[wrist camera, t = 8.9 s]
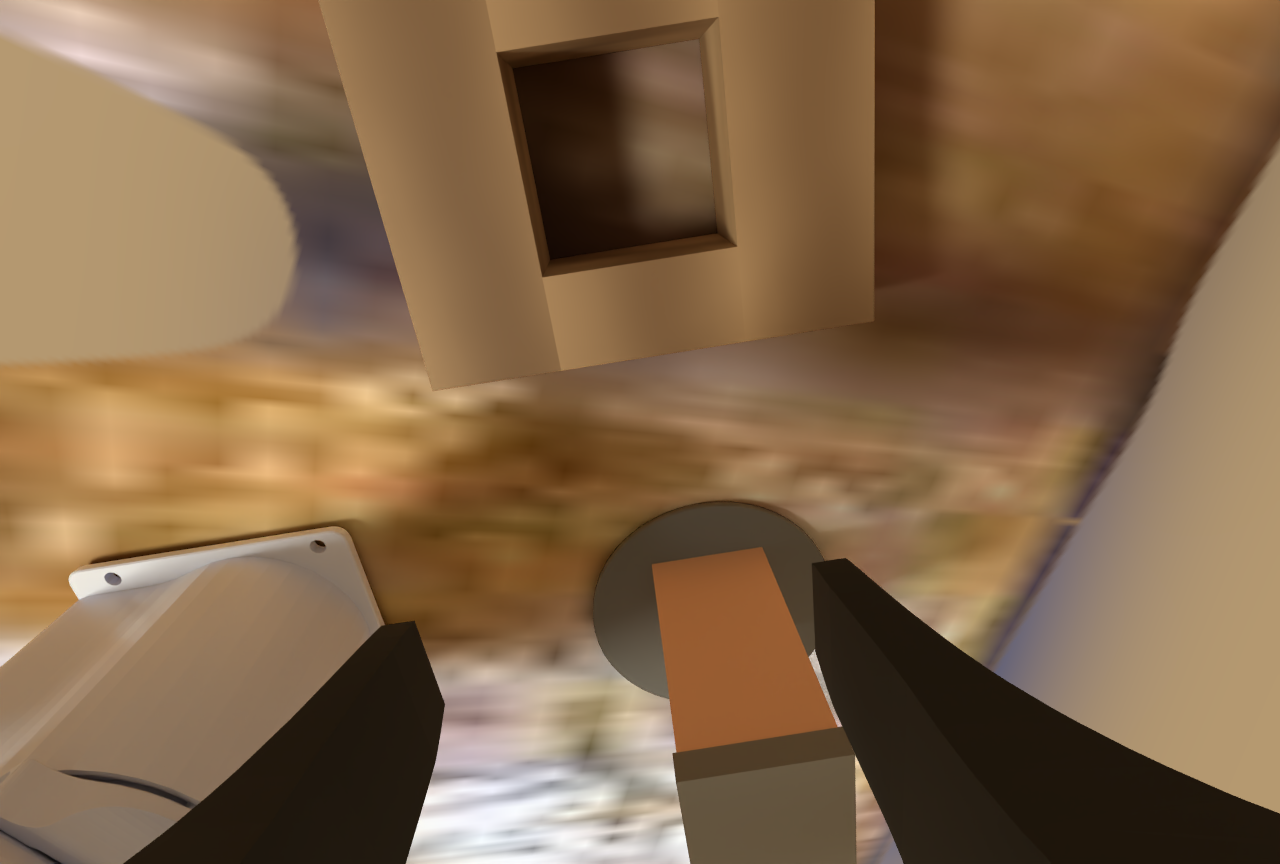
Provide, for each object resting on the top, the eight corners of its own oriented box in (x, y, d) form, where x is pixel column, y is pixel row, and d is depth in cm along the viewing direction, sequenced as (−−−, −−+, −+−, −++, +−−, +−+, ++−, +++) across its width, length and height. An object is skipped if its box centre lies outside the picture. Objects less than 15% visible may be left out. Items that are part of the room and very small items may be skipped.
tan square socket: (454, 358, 20) (432, 391, 17) (351, -23, 16) (300, -60, 13) (836, 298, 20) (874, 321, 17) (827, -99, 16) (875, -151, 13)
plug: (663, 652, 25) (696, 894, 17) (648, 562, 23) (676, 782, 15) (772, 635, 25) (856, 869, 17) (764, 544, 23) (854, 754, 15)
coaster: (614, 710, 26) (614, 718, 26) (573, 523, 23) (572, 529, 22) (832, 676, 26) (835, 683, 26) (826, 483, 23) (829, 488, 22)
